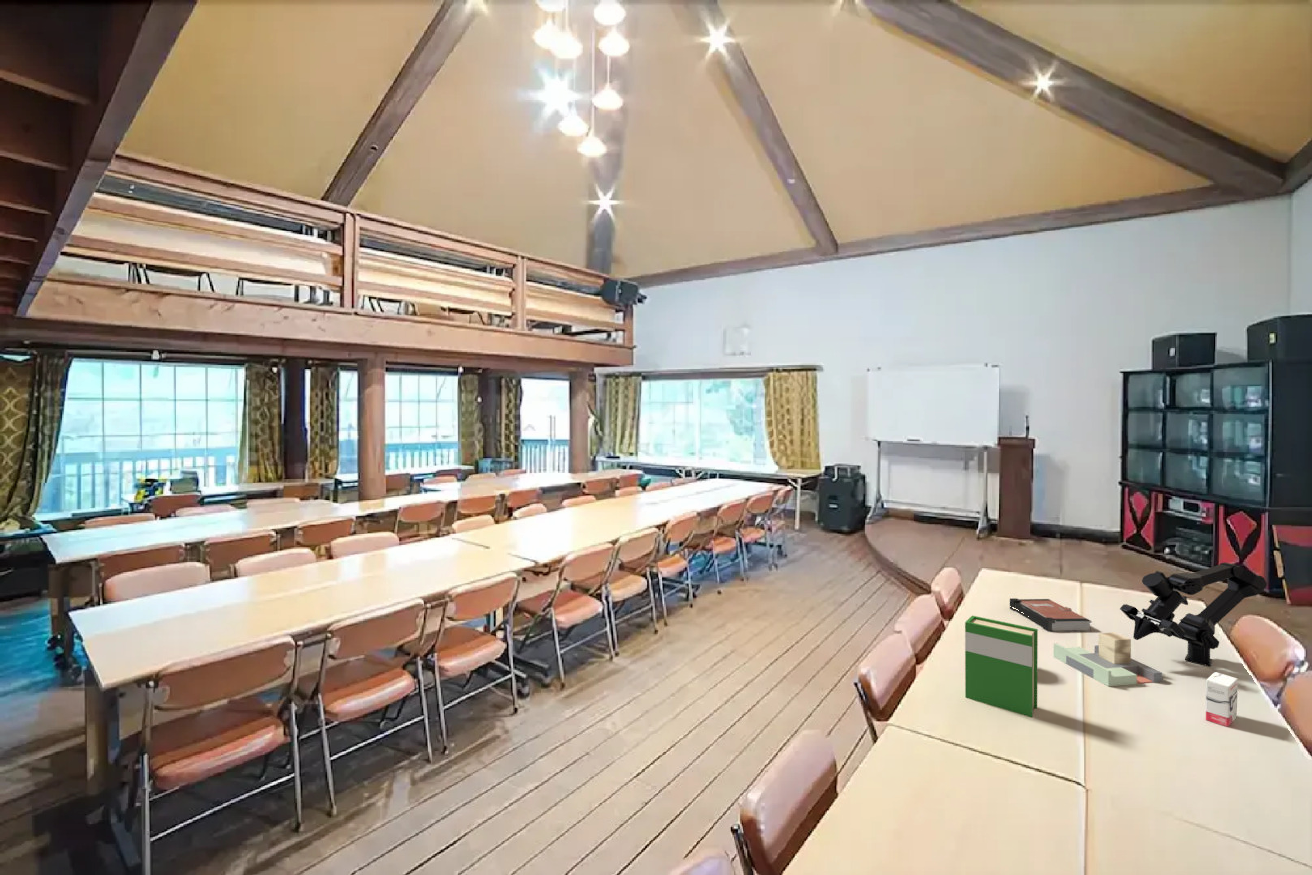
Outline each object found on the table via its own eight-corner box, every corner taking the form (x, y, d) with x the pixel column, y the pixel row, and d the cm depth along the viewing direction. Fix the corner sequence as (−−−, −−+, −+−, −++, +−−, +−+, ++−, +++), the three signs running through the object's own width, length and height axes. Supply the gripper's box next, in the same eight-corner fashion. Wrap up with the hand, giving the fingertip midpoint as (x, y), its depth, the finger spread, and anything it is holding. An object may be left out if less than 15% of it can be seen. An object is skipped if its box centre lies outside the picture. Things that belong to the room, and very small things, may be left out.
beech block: (1114, 654, 198) (1114, 632, 198) (1130, 662, 192) (1130, 639, 192) (1098, 656, 198) (1098, 633, 197) (1114, 663, 192) (1114, 640, 191)
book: (1093, 632, 226) (1093, 619, 226) (1048, 632, 227) (1048, 620, 227) (1050, 608, 252) (1050, 597, 252) (1009, 609, 253) (1009, 598, 253)
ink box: (1228, 727, 158) (1229, 686, 158) (1204, 719, 163) (1205, 679, 162) (1237, 717, 163) (1238, 677, 162) (1213, 710, 167) (1214, 671, 167)
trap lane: (1102, 652, 207) (1102, 639, 206) (1162, 681, 185) (1162, 666, 185) (1053, 656, 205) (1053, 643, 204) (1108, 686, 183) (1108, 671, 183)
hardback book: (1037, 707, 172) (1037, 628, 171) (1031, 717, 166) (1032, 636, 165) (972, 688, 184) (972, 615, 183) (965, 697, 179) (965, 622, 178)
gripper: (1208, 630, 188) (1177, 666, 187) (1153, 610, 206) (1124, 642, 206) (1187, 608, 186) (1156, 644, 186) (1133, 590, 205) (1105, 622, 204)
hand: (1135, 638), depth 195 cm, fingers closed
